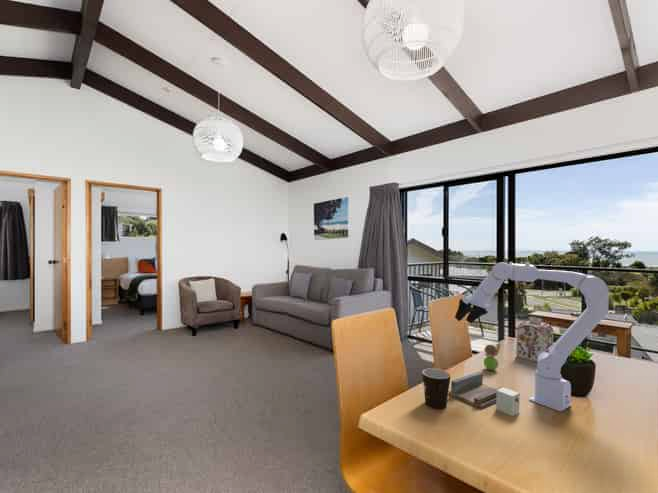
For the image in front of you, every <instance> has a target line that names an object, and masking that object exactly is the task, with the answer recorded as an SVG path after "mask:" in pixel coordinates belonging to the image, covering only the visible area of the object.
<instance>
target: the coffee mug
mask: <svg viewBox="0 0 658 493" xmlns="http://www.w3.org/2000/svg"><path fill="white" fill-rule="evenodd" d="M421 372H422V383H423V392H424V402H425V405H426V407H428V408H430V409H433V410H444V409H446V408H447V405H448V404H447V403H448V398H449V397H448V396H449V391H450V385H451V383H450V382H451V376H452V375H451V373H450V372H448V371H446V370H444V369H440V368H430V367H429V368H425V369H423V370H422V371H421Z"/></svg>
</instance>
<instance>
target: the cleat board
mask: <svg viewBox="0 0 658 493" xmlns="http://www.w3.org/2000/svg"><path fill="white" fill-rule="evenodd" d="M483 376H484V374H483V372H481V371H477V372H474V373H471V374H468V375H465V376H462V377H460V378H459V377H458V378H456V379H453V380H450V382H451V383H450V388H451V389H450V390H449V391H448V396H451V397H453V398H455V399H458V400H460V401H462V402H464V403H467V404H469V405H471V406H473V407H476V408H478V409H480V410H482V409H486V408H487V407H489V406H491V405H494V404H496V393H497V390H498V389H501V388H503V386H500V387H497V388H495V387H492V386H489V385H486V384H484V383H483V382H484V381H483V380H484V377H483Z"/></svg>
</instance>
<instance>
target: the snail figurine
mask: <svg viewBox="0 0 658 493" xmlns="http://www.w3.org/2000/svg"><path fill="white" fill-rule="evenodd" d="M498 342H499V343H497V344H496V346H495V345H493V344H487V345H486V346H485V347H484V352H485V354H484V355H485V356H486V357H485V358H484V360H483V365H484V367H485V369H487V370H489V371H495V370H496V369H497V370H498V367H499V361H498V360H497V358H496V357H497V356H498V355H499V353H500V348H501V342H502V341H501V340H498Z"/></svg>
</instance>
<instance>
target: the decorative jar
mask: <svg viewBox="0 0 658 493" xmlns="http://www.w3.org/2000/svg"><path fill="white" fill-rule="evenodd" d="M552 345H554V328H553V327H552V325H551V324H549V323H547V322H543V321H542V319H541V318H538V317H529V319H528V320H522V321H520V322H519V324H518V325H517V327H516V345H515V346H516V347H515V348H516V349H515V352H516V353H515V354H516V358H518V359H519V358H520V359H522V358H523V359H522V360H527V361H531V362H534V363H535V362H536V363H538V361H537V356H538V354H539V353H541V352H543V351H546V350H547V349H548V348H549V347H550V346H552Z"/></svg>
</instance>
